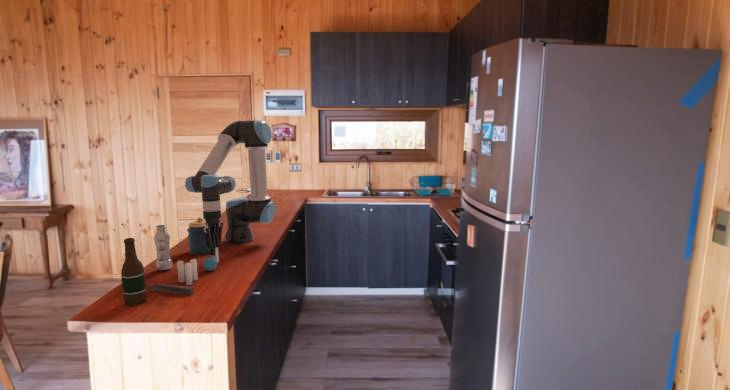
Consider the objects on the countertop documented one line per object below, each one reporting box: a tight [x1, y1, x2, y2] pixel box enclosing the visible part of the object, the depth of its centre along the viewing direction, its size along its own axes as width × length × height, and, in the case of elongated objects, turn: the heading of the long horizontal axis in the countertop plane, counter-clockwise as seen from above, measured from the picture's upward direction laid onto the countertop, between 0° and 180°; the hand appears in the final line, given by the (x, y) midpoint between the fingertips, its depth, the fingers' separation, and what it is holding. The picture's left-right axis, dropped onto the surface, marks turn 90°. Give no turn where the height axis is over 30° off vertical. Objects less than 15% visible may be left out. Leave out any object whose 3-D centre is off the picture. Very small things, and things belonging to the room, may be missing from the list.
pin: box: [183, 262, 193, 286], centre depth 179 cm, size 2×2×8 cm
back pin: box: [176, 260, 186, 283], centre depth 182 cm, size 2×2×8 cm
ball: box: [202, 256, 218, 272], centre depth 195 cm, size 6×6×6 cm
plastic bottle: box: [153, 224, 173, 271], centre depth 196 cm, size 6×7×20 cm
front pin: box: [189, 258, 199, 282], centre depth 184 cm, size 2×2×8 cm
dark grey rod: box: [150, 282, 195, 296], centre depth 171 cm, size 2×18×2 cm, turn 75°
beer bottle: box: [120, 237, 147, 307], centre depth 160 cm, size 8×8×24 cm
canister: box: [186, 216, 211, 256], centre depth 223 cm, size 13×13×18 cm
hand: (215, 261), depth 198 cm, fingers closed
